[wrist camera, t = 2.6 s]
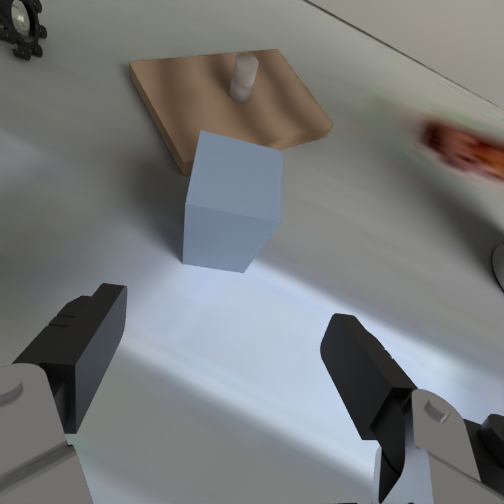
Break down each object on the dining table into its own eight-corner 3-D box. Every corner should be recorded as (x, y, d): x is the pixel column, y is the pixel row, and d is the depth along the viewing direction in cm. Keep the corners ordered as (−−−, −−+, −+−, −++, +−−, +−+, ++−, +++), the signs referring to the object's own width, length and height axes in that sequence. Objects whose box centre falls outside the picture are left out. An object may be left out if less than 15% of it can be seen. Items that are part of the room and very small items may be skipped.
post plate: (273, 63, 38) (288, 14, 32) (325, 136, 35) (352, 96, 29) (131, 79, 30) (121, 18, 24) (183, 175, 27) (185, 129, 21)
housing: (192, 210, 26) (200, 129, 17) (247, 221, 27) (283, 151, 18) (182, 263, 23) (185, 203, 14) (243, 272, 25) (280, 222, 16)
